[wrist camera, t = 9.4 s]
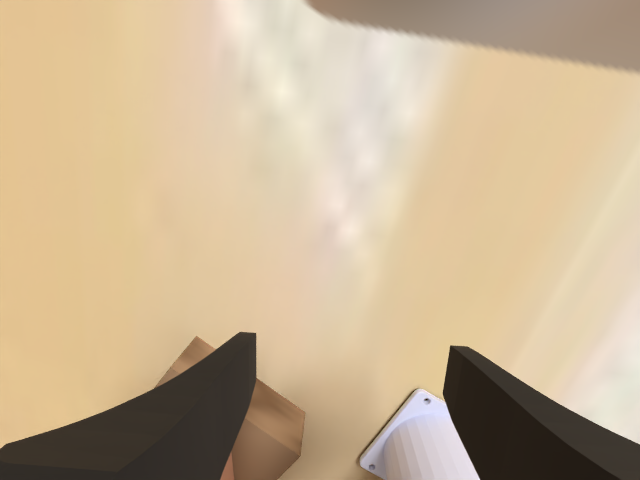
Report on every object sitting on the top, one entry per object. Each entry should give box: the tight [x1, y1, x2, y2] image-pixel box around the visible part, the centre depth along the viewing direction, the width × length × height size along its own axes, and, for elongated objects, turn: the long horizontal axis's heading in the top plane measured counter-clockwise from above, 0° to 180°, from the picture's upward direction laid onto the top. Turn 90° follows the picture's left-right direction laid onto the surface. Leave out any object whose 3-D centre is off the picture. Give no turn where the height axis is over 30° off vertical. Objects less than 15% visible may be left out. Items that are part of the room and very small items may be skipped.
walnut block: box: [155, 336, 305, 480], centre depth 22 cm, size 10×10×4 cm
